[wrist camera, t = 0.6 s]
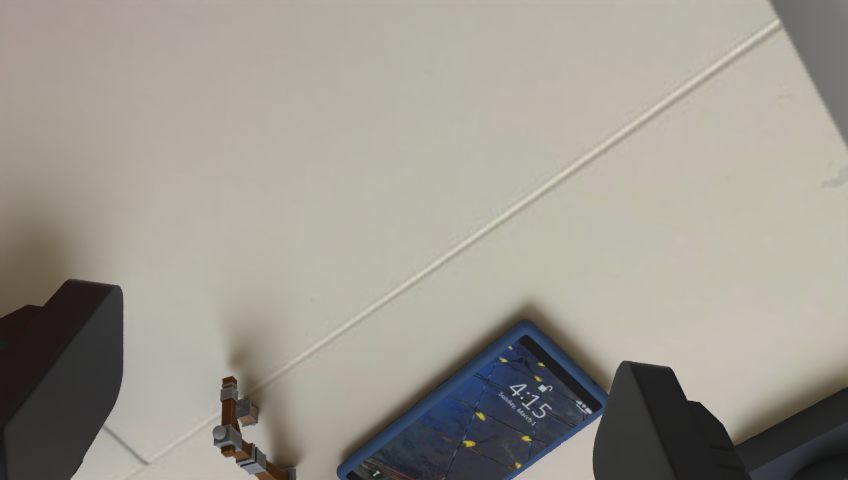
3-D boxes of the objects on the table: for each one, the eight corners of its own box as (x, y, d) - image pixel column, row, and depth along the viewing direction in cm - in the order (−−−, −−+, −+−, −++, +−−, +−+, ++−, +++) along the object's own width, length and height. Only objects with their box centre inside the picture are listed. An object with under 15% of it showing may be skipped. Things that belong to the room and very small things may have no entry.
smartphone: (331, 476, 46) (527, 321, 41) (333, 466, 47) (525, 313, 42) (422, 546, 48) (617, 407, 44) (423, 536, 49) (615, 398, 44)
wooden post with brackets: (235, 364, 43) (231, 440, 40) (295, 430, 49) (296, 500, 45) (205, 372, 43) (198, 448, 40) (268, 437, 49) (267, 507, 46)
